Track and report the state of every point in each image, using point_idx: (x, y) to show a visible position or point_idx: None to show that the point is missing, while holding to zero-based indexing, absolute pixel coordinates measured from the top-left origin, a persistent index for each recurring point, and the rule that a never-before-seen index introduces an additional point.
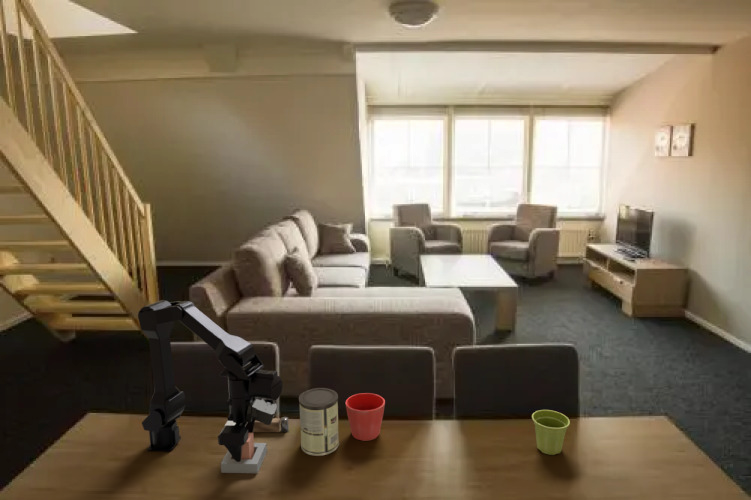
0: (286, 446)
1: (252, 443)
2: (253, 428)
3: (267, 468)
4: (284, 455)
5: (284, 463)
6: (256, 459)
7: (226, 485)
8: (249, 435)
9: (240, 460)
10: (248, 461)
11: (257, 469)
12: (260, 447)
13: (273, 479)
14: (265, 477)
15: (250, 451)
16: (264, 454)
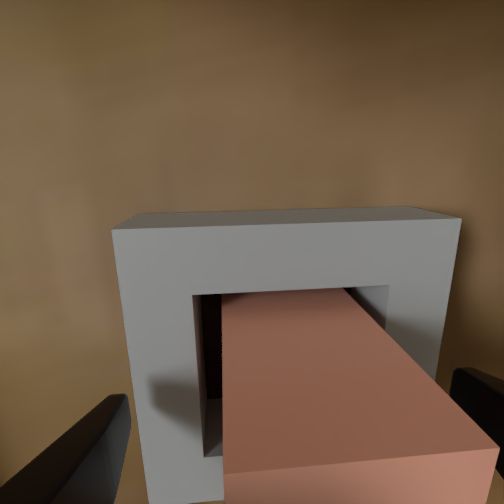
0: (21, 45)
1: (278, 364)
2: (14, 495)
3: (354, 147)
4: (171, 34)
5: (291, 6)
6: (390, 245)
7: (497, 353)
8: (314, 500)
9: (481, 371)
10: (413, 303)
11: (422, 210)
12: (199, 266)
13: (490, 61)
14: (458, 133)
15: (349, 334)
16: (211, 214)
